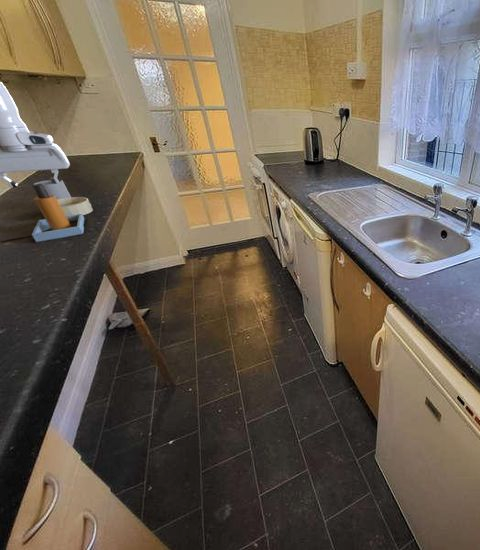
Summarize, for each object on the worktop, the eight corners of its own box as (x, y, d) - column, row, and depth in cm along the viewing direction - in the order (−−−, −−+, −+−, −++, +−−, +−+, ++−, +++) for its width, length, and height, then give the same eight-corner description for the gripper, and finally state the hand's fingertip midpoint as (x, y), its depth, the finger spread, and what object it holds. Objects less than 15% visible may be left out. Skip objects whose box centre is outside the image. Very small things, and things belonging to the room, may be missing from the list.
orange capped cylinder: (51, 232, 99) (25, 187, 91) (53, 227, 102) (27, 184, 94) (70, 229, 102) (47, 185, 94) (71, 224, 105) (49, 182, 97)
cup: (65, 209, 119) (52, 184, 114) (42, 210, 118) (27, 185, 113) (79, 203, 127) (67, 179, 121) (57, 203, 125) (44, 180, 120)
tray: (36, 242, 94) (31, 234, 93) (42, 226, 104) (38, 219, 103) (83, 233, 100) (79, 226, 99) (85, 220, 110) (81, 213, 109)
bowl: (46, 223, 107) (39, 210, 105) (51, 213, 116) (44, 200, 113) (93, 216, 114) (87, 203, 112) (94, 207, 123) (88, 195, 120)
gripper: (-48, 140, 79) (-15, 192, 86) (56, 137, 90) (77, 183, 97) (-40, 138, 83) (-10, 187, 91) (58, 135, 94) (78, 179, 101)
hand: (36, 185), depth 94 cm, fingers open, 8 cm apart
